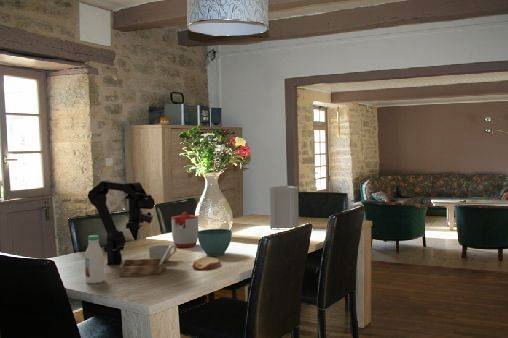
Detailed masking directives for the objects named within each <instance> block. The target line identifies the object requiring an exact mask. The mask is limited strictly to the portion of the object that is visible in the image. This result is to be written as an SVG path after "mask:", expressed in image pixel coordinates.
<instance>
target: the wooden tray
mask: <svg viewBox="0 0 508 338" xmlns="http://www.w3.org/2000/svg"><path fill="white" fill-rule="evenodd" d="M162 259H163V258H156V259H150V258H137V259H136V258H134V259H133V258H132V259H131V258H130V259H123V261H122V262H121V264H120V265H119V268H118V271H119V277H129V276H130V277H132V276H134V277H135V276H136V277H137V276H157V275H158V276H159V275H161V273H162V271H163V268H164V262H162V264H161V265H160V263H161V261H162Z"/></svg>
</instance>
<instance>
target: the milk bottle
mask: <svg viewBox="0 0 508 338" xmlns="http://www.w3.org/2000/svg"><path fill="white" fill-rule="evenodd" d="M87 240H88V245H87V248H86V250H85V254H84V265H85V267H84V270H85V271H84V272H85V282H86V283H87V284H100V283H103V282H105V262H104V251H103V250H102V249H103V248H102V247H101V246H100V242H99V241H100V236H99V234H98V235H97V234H93V235H91V234H90V235H88V236H87Z"/></svg>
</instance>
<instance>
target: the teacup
mask: <svg viewBox="0 0 508 338" xmlns="http://www.w3.org/2000/svg"><path fill="white" fill-rule="evenodd" d="M169 246H170V244H159V245H151V246H149V247H148V255H149V256H148V257H149V259H156V258H163V257H164V255H165V253H166V251H167V250H168V248H169ZM172 248H173V249H174V250H173V251H171V250H172ZM176 252H177V247H176V246H175V244H174V245H173V244H172V245H171V248H170V250H169V251H168V253H167V255H166V257H165V258H164V260H163V263H166V262H168V261H169V260H170V258H171V257H172V256H173V255H174V254H175V253H176Z"/></svg>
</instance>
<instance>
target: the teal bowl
mask: <svg viewBox="0 0 508 338" xmlns="http://www.w3.org/2000/svg"><path fill="white" fill-rule="evenodd" d="M197 236H198V239H197V241H198V243H199V246H200V247H201V250H203V252H204V253H205V254H206V255H207V257H221V256H223V255H224V254H225V252H226V251H227V249H228V248H229V246H230V244H231V240H232V236H233V230H231V229H226V228H210V229H208V228H207V229H202V230H198V232H197Z"/></svg>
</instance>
